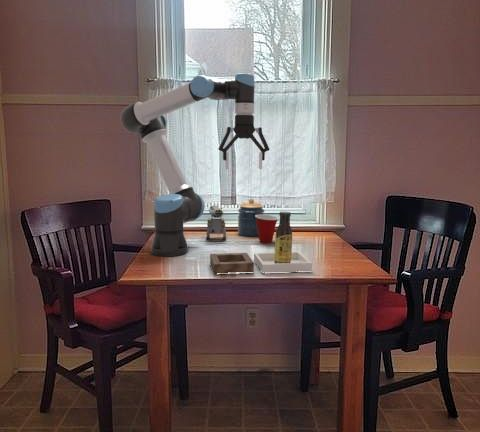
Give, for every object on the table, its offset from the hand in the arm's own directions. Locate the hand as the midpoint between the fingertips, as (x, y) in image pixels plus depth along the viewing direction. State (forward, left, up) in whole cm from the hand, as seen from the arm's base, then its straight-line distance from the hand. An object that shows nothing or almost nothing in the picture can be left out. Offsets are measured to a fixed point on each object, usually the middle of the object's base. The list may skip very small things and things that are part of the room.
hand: (243, 168), depth 183 cm
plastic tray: (+11, -22, -35) cm, 43 cm away
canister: (+10, +35, -35) cm, 50 cm away
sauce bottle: (+11, -22, -34) cm, 42 cm away
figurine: (-8, +27, -35) cm, 45 cm away
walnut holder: (-8, -22, -35) cm, 42 cm away
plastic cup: (+14, +18, -35) cm, 42 cm away
